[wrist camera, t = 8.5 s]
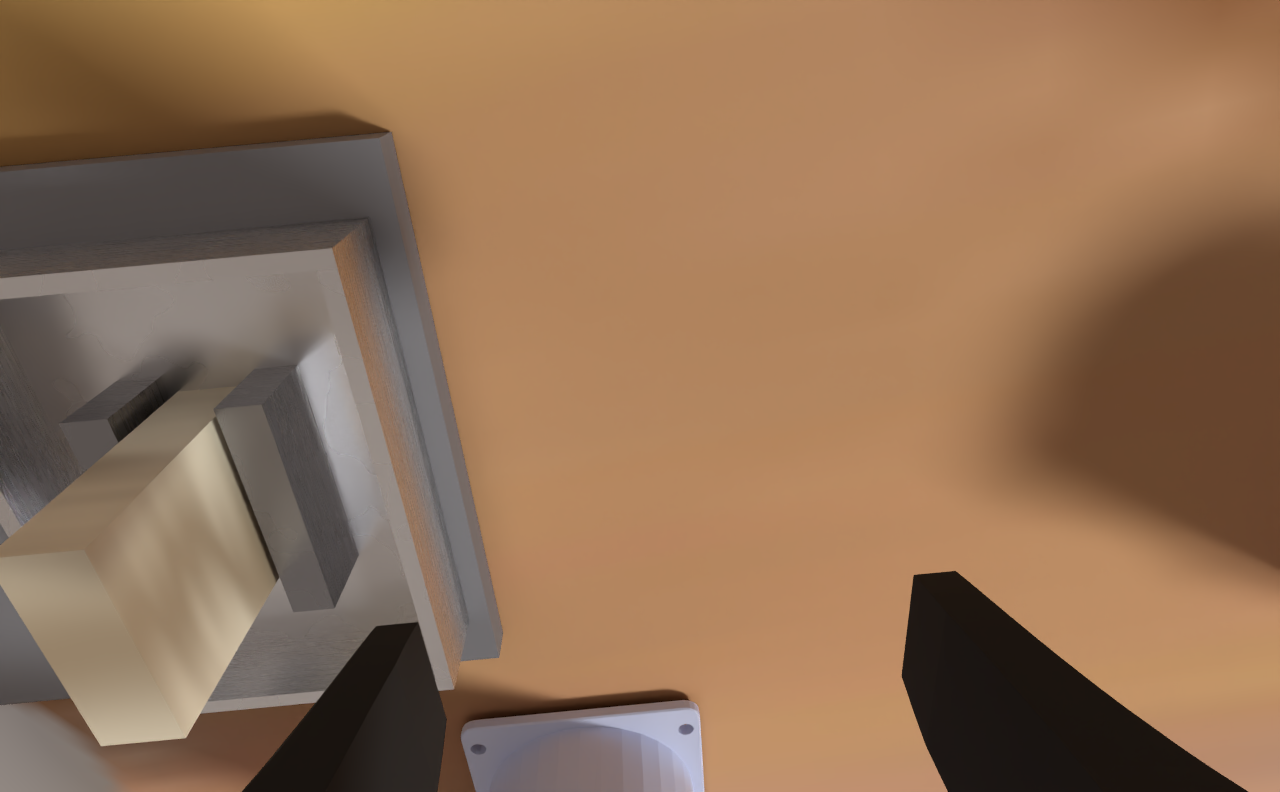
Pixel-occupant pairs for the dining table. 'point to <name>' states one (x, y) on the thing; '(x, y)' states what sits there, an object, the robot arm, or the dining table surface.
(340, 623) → the grey slotted tray
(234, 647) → the wood wick
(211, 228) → the charcoal board
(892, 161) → the dining table surface
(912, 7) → the dining table surface
